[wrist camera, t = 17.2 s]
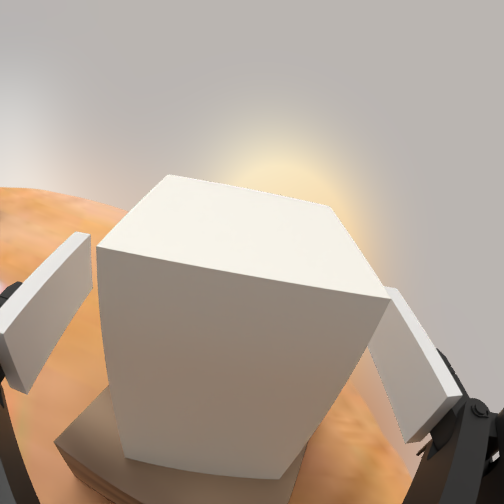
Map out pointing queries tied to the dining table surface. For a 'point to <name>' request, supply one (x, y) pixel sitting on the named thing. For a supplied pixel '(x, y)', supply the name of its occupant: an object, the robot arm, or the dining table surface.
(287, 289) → the upright white rectangular block
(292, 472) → the walnut stand
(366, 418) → the dining table surface
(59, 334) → the robot arm
